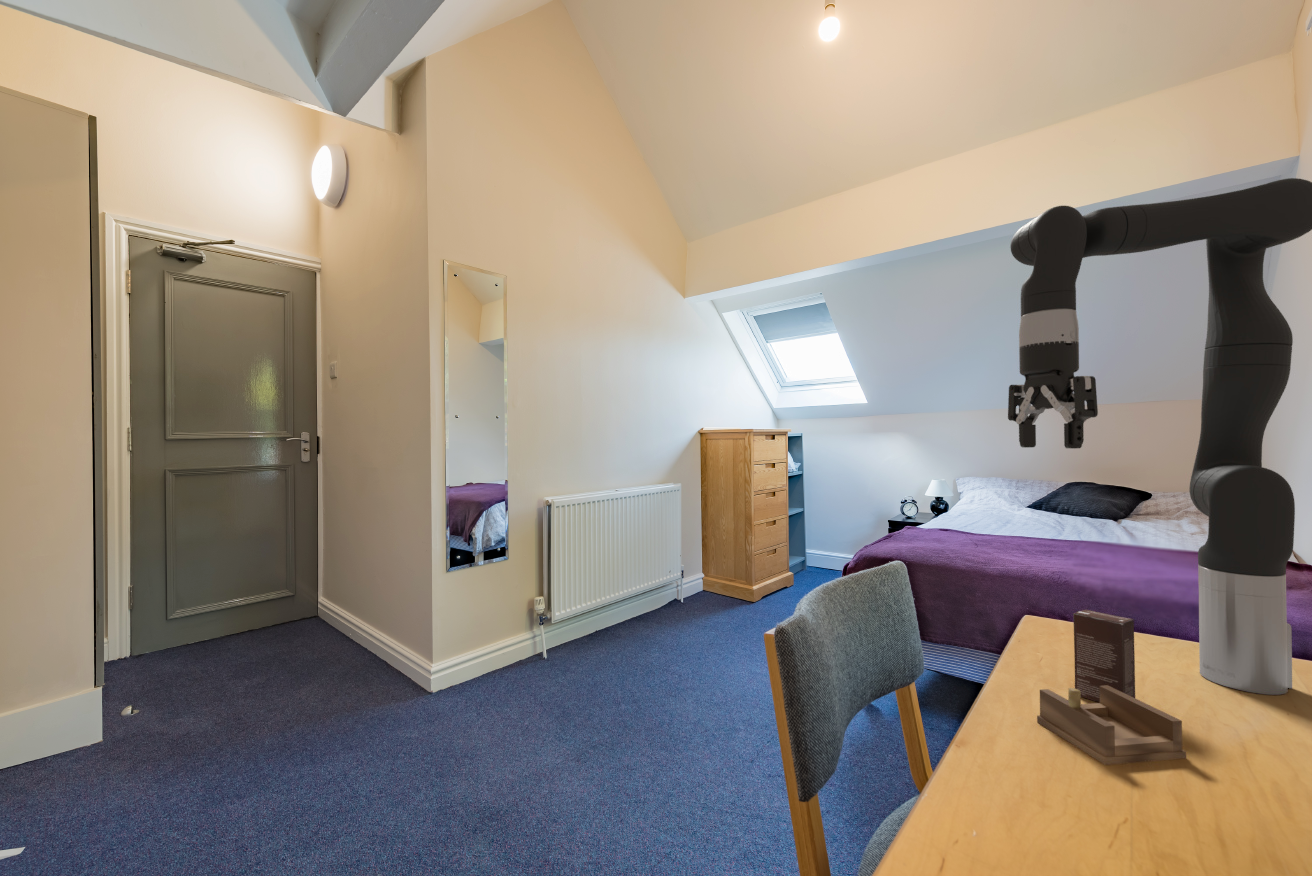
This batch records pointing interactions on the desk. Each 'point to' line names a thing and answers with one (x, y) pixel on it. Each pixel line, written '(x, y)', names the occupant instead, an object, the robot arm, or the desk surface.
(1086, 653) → the box
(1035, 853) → the desk surface
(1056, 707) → the drawer
